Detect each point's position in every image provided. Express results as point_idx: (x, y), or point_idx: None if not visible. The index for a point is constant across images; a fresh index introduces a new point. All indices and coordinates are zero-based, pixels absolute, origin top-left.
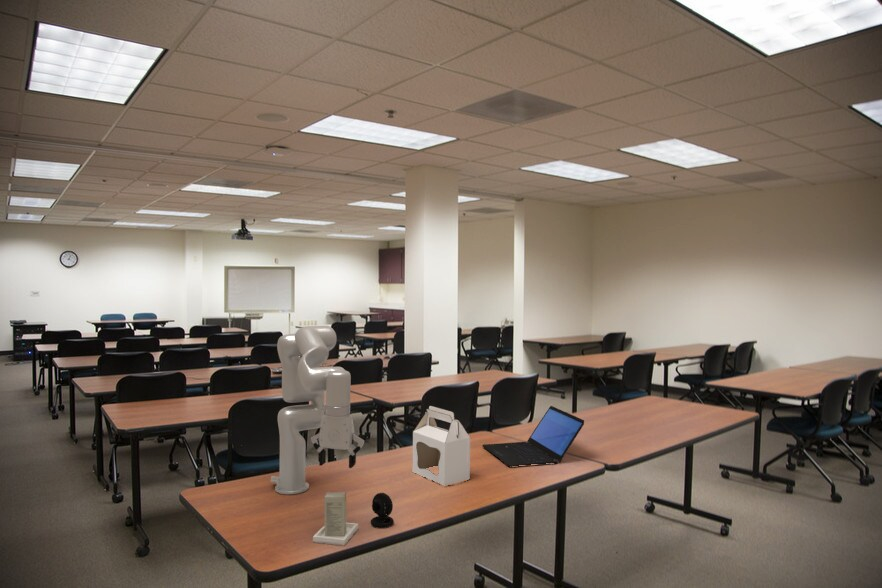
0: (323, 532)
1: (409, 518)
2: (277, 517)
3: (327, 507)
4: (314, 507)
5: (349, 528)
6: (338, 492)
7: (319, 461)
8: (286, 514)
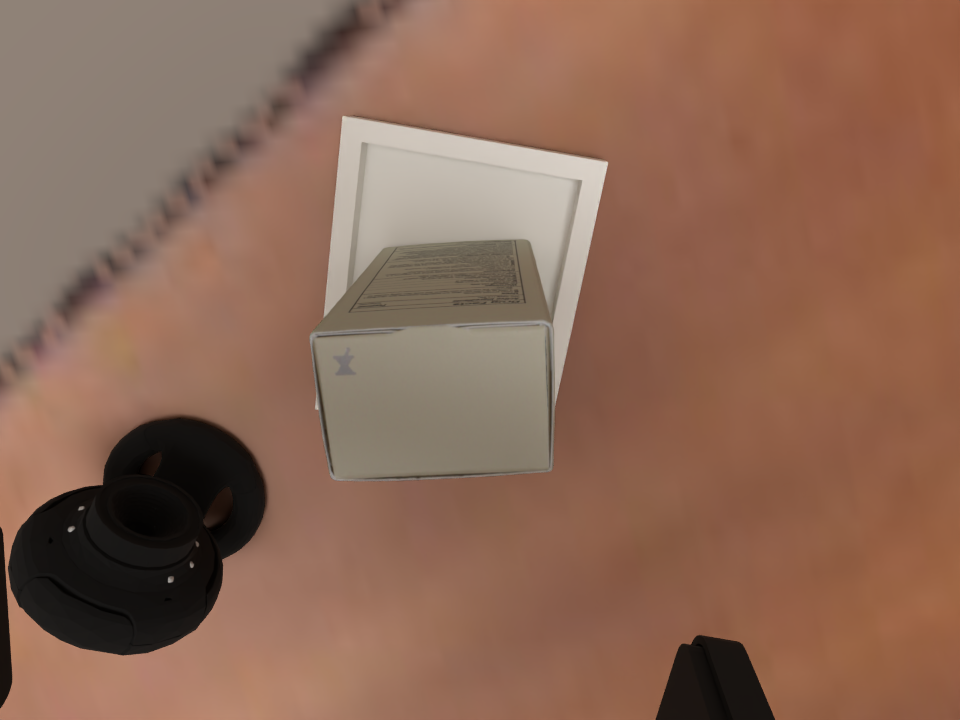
0: (554, 302)
1: None
2: (943, 547)
3: (510, 292)
4: None
5: None
6: (414, 468)
7: (769, 712)
8: (885, 594)
